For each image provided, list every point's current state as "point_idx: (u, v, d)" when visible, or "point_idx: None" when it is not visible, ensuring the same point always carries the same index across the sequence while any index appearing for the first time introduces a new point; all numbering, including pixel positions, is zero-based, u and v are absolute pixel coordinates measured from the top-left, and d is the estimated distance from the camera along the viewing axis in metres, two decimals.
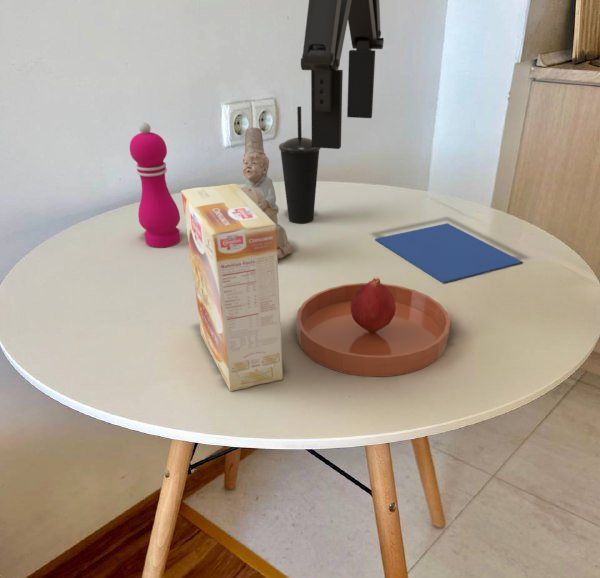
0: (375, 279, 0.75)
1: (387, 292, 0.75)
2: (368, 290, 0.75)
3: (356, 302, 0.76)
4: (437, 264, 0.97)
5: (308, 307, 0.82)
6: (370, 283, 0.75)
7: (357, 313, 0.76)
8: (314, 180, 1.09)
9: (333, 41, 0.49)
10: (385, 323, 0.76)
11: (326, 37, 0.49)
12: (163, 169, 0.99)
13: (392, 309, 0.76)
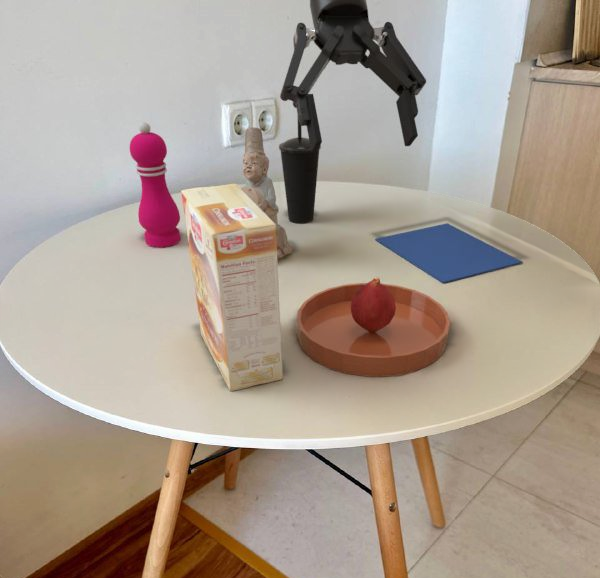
0: (375, 279, 0.75)
1: (387, 292, 0.75)
2: (368, 290, 0.75)
3: (356, 302, 0.76)
4: (437, 264, 0.97)
5: (308, 307, 0.82)
6: (370, 283, 0.75)
7: (357, 313, 0.76)
8: (314, 180, 1.09)
9: (288, 77, 0.76)
10: (385, 323, 0.76)
11: None
12: (163, 169, 0.99)
13: (392, 309, 0.76)
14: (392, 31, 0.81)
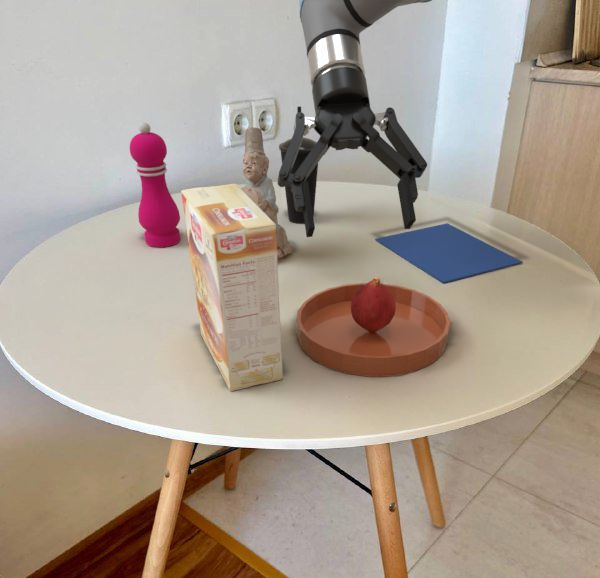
0: (375, 279, 0.75)
1: (387, 292, 0.75)
2: (368, 290, 0.75)
3: (356, 302, 0.76)
4: (437, 264, 0.97)
5: (308, 307, 0.82)
6: (370, 283, 0.75)
7: (357, 313, 0.76)
8: (314, 180, 1.09)
9: (284, 165, 0.77)
10: (385, 323, 0.76)
11: None
12: (163, 169, 0.99)
13: (392, 309, 0.76)
14: (393, 116, 0.80)
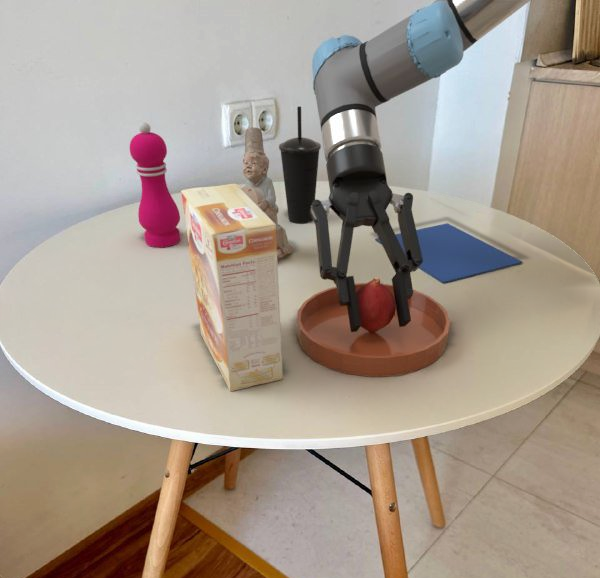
0: (375, 279, 0.75)
1: (387, 292, 0.75)
2: (368, 290, 0.75)
3: None
4: (437, 264, 0.97)
5: (308, 307, 0.82)
6: (370, 283, 0.75)
7: None
8: (314, 180, 1.09)
9: (324, 260, 0.74)
10: (385, 323, 0.76)
11: (321, 260, 0.75)
12: (163, 169, 0.99)
13: (392, 309, 0.76)
14: (409, 203, 0.77)
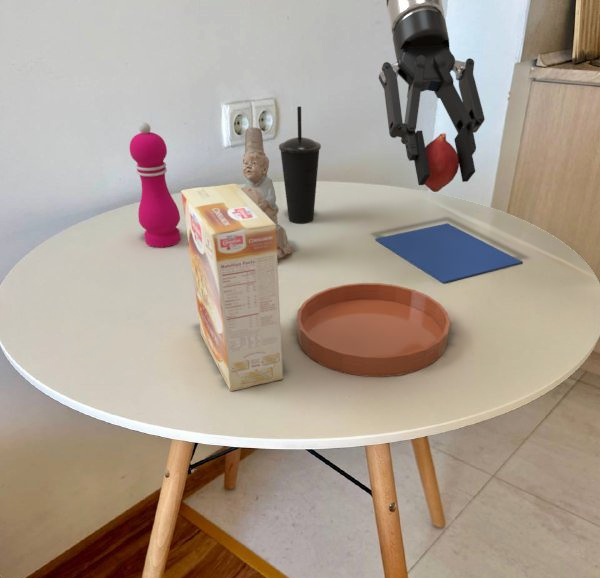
0: (441, 134, 0.81)
1: (452, 147, 0.82)
2: (435, 145, 0.81)
3: None
4: (437, 264, 0.97)
5: (308, 307, 0.82)
6: (436, 139, 0.82)
7: None
8: (314, 180, 1.09)
9: (395, 116, 0.81)
10: (449, 177, 0.83)
11: (392, 117, 0.81)
12: (163, 169, 0.99)
13: (456, 164, 0.82)
14: (471, 67, 0.83)
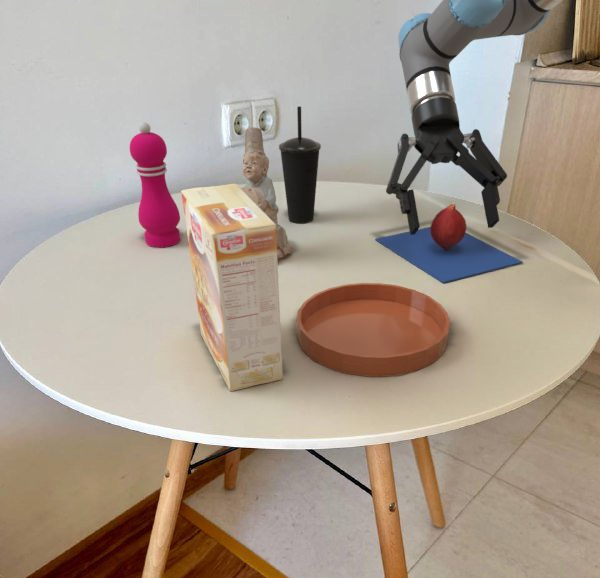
0: (452, 204, 0.97)
1: (460, 215, 0.97)
2: (446, 213, 0.97)
3: (436, 223, 0.98)
4: (437, 264, 0.97)
5: (308, 307, 0.82)
6: (447, 208, 0.97)
7: (436, 232, 0.98)
8: (314, 180, 1.09)
9: (393, 177, 0.96)
10: (458, 239, 0.98)
11: (391, 177, 0.96)
12: (163, 169, 0.99)
13: (464, 228, 0.98)
14: (479, 136, 0.99)
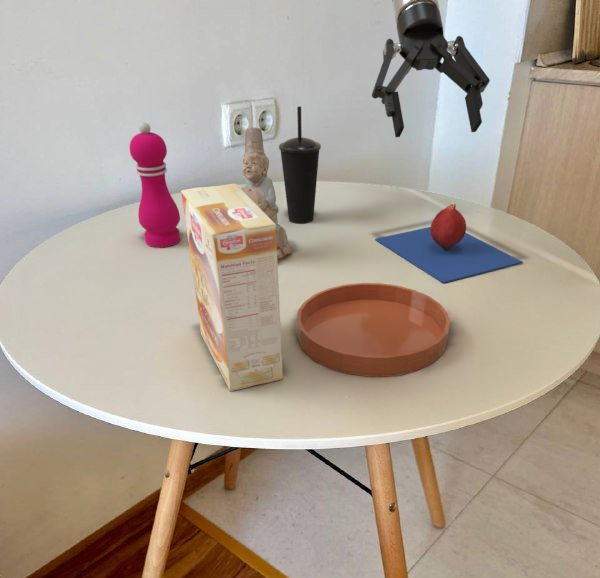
0: (452, 204, 0.97)
1: (460, 215, 0.97)
2: (446, 213, 0.97)
3: (436, 223, 0.98)
4: (437, 264, 0.97)
5: (308, 307, 0.82)
6: (447, 208, 0.97)
7: (436, 232, 0.98)
8: (314, 180, 1.09)
9: (378, 79, 0.98)
10: (458, 239, 0.98)
11: None
12: (163, 169, 0.99)
13: (464, 228, 0.98)
14: (462, 43, 1.01)
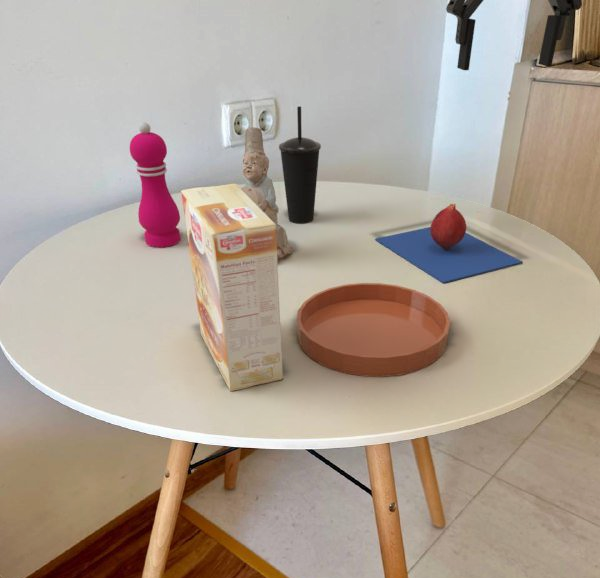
0: (452, 204, 0.97)
1: (460, 215, 0.97)
2: (446, 213, 0.97)
3: (436, 223, 0.98)
4: (437, 264, 0.97)
5: (308, 307, 0.82)
6: (447, 208, 0.97)
7: (436, 232, 0.98)
8: (314, 180, 1.09)
9: (459, 0, 0.84)
10: (458, 239, 0.98)
11: None
12: (163, 169, 0.99)
13: (464, 228, 0.98)
14: None
